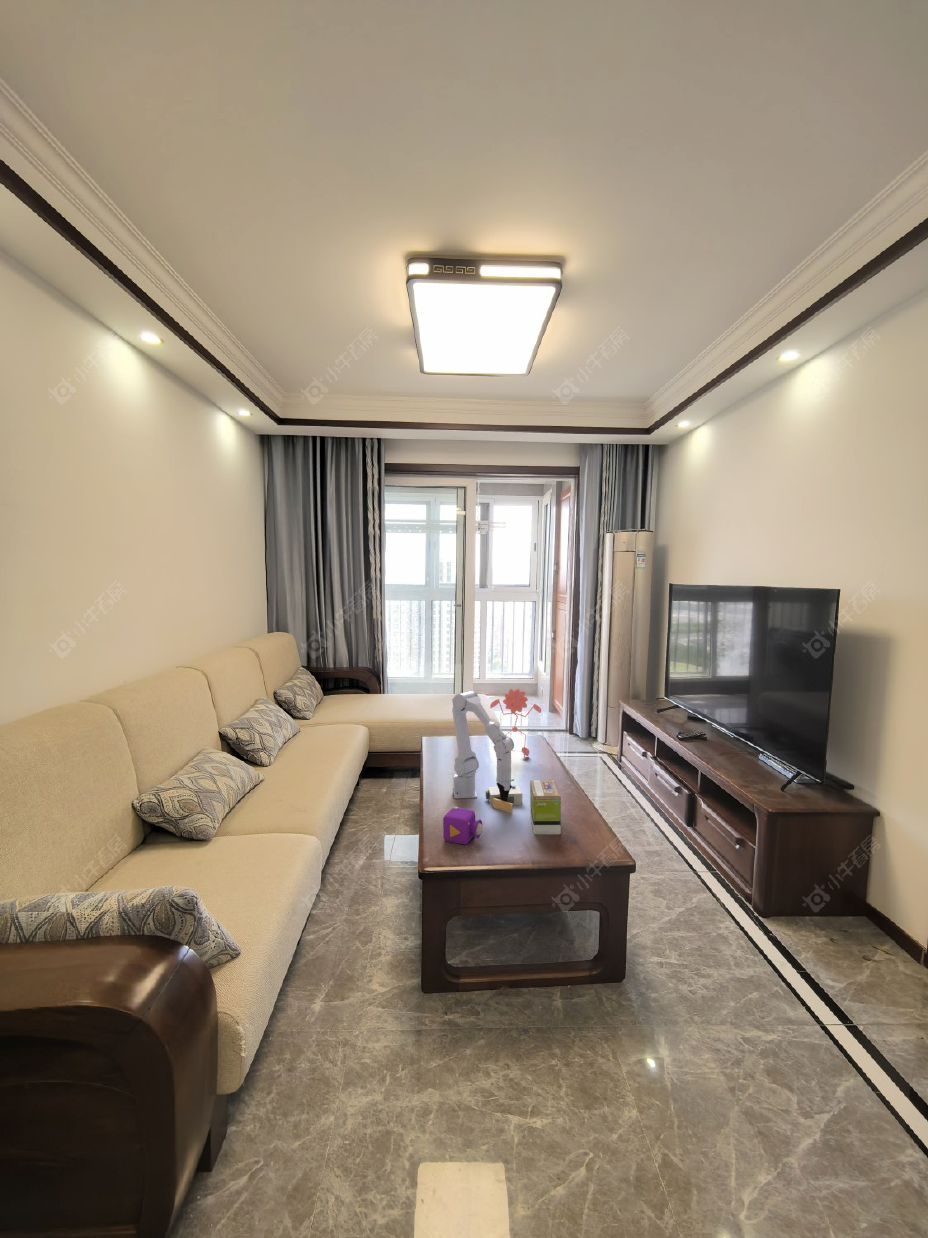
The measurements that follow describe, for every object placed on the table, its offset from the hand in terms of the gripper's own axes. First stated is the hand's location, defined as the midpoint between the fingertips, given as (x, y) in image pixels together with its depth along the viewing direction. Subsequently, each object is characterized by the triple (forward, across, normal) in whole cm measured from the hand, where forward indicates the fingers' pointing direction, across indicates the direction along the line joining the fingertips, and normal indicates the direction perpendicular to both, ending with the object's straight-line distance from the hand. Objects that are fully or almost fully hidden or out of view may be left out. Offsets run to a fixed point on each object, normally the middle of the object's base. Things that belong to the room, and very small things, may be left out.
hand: (504, 801), depth 216 cm
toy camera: (+3, -24, +18) cm, 30 cm away
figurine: (+3, +60, -16) cm, 63 cm away
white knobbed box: (+3, +6, -1) cm, 7 cm away
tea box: (+3, -17, -12) cm, 21 cm away
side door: (+3, -2, +1) cm, 3 cm away
